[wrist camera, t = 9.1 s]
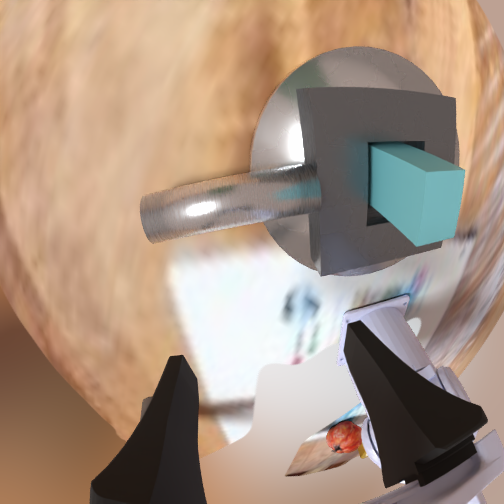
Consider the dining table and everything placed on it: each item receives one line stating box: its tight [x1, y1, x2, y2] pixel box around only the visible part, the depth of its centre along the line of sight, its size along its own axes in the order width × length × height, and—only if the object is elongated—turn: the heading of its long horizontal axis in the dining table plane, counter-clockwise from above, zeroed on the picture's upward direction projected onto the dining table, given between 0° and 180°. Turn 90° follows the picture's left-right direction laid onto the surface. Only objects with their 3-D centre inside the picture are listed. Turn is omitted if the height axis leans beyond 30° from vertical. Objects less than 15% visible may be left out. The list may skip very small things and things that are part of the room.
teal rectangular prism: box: [368, 141, 465, 247], centre depth 14 cm, size 4×3×7 cm
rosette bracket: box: [140, 46, 459, 276], centre depth 16 cm, size 18×24×4 cm
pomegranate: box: [326, 421, 362, 453], centre depth 42 cm, size 7×7×10 cm
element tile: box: [358, 443, 369, 458], centre depth 60 cm, size 15×15×5 cm
